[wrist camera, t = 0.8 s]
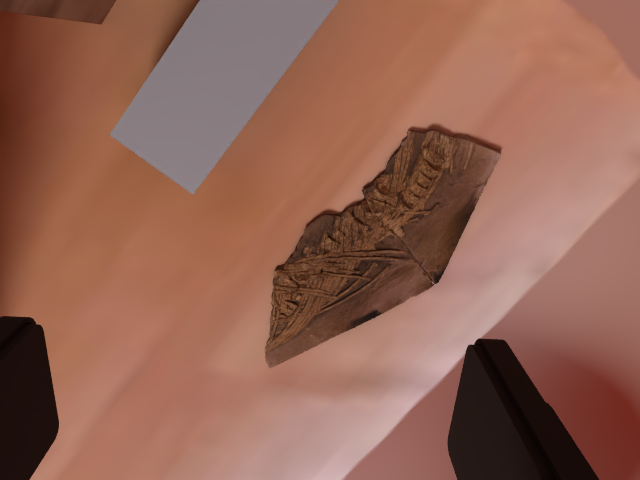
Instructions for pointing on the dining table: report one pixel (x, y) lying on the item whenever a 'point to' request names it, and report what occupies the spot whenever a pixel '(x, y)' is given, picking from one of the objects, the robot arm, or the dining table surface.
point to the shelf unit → (61, 9)
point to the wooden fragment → (379, 243)
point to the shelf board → (214, 82)
